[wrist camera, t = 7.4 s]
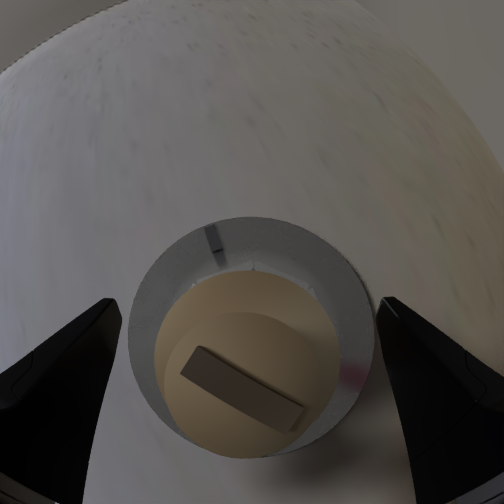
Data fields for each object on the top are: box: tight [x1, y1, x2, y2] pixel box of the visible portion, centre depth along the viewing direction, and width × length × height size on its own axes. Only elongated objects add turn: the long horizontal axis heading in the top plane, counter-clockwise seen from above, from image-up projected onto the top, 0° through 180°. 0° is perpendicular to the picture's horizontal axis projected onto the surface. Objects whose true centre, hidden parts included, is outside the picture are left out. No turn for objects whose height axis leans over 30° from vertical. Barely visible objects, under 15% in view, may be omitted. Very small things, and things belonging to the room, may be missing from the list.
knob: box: [154, 270, 341, 458], centre depth 10 cm, size 5×5×13 cm
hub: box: [128, 217, 374, 458], centre depth 16 cm, size 15×15×2 cm
